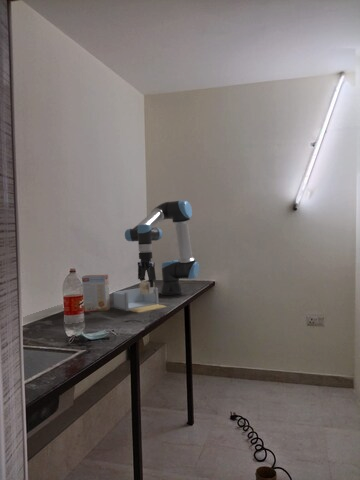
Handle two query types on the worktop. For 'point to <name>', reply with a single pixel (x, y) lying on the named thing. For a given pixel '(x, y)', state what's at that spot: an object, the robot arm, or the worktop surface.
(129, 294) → the pale blue open box
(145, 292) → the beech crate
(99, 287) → the cracker box
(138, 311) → the panel
